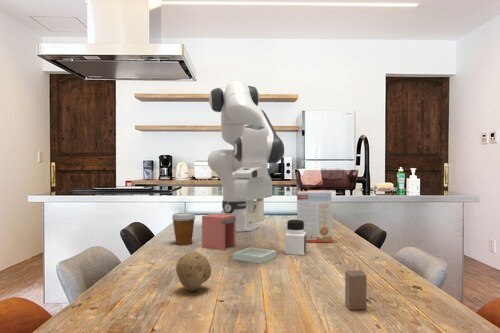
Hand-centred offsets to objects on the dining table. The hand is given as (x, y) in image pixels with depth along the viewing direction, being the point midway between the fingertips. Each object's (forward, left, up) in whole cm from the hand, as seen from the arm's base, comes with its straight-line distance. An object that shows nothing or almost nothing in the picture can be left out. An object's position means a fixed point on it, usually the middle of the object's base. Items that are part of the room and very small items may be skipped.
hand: (254, 212), depth 141 cm
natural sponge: (+38, +3, -16) cm, 41 cm away
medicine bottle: (-15, +8, -16) cm, 24 cm away
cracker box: (-38, +6, -16) cm, 42 cm away
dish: (0, 0, -16) cm, 16 cm away
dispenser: (-9, -21, -16) cm, 28 cm away
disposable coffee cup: (-7, -38, -16) cm, 41 cm away
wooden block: (+29, +43, -16) cm, 55 cm away
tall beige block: (0, 0, -3) cm, 3 cm away
